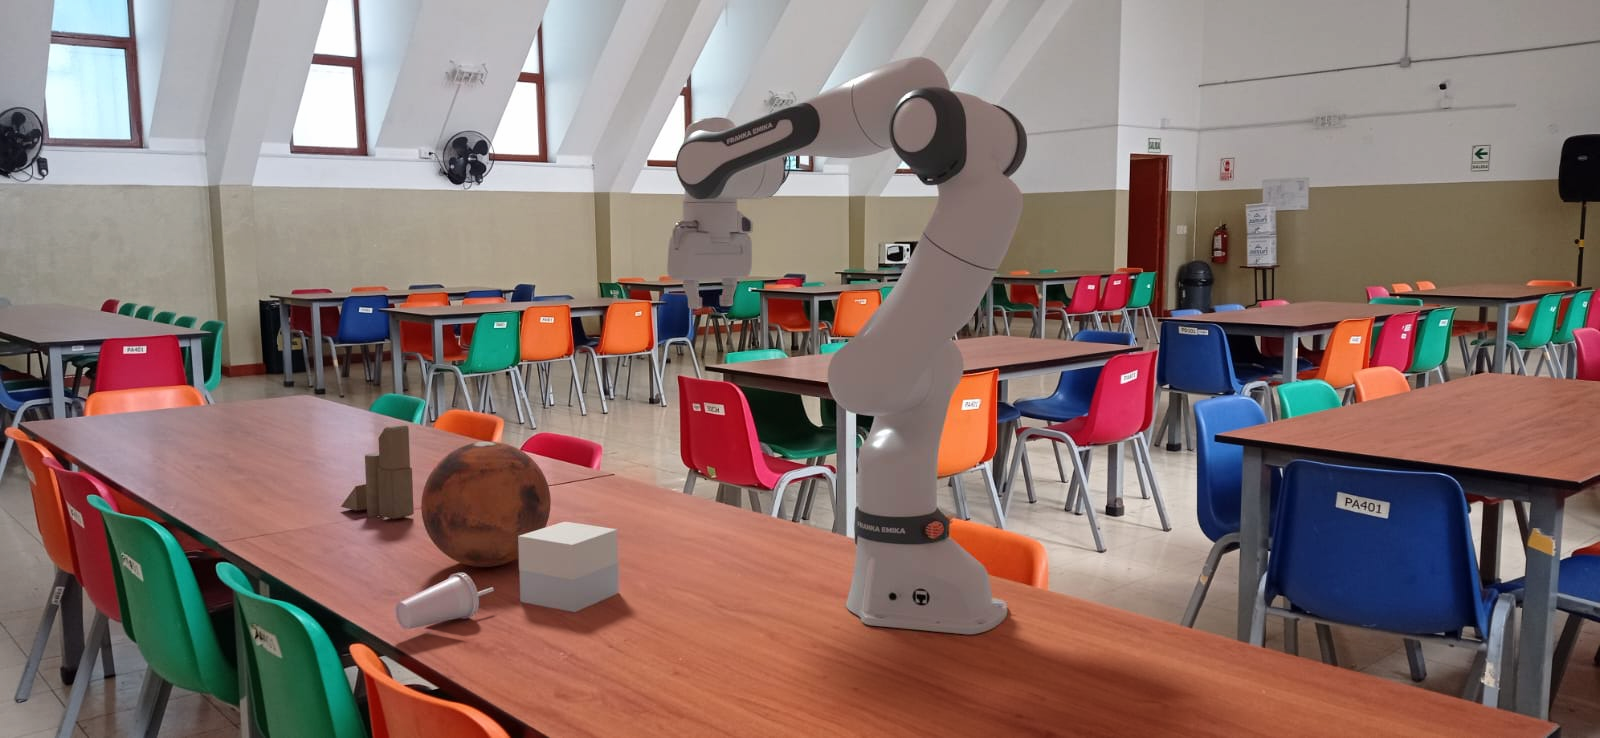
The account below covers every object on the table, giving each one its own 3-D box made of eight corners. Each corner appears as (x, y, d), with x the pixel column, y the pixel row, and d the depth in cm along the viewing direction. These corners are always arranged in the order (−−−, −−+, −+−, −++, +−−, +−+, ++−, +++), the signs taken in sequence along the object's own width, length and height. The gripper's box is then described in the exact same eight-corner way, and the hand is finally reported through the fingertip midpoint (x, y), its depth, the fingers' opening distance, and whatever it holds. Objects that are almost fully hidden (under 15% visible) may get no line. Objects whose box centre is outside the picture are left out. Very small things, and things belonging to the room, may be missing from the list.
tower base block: (618, 595, 168) (618, 562, 168) (574, 614, 159) (573, 579, 159) (566, 585, 173) (565, 553, 172) (520, 603, 164) (519, 569, 164)
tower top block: (617, 562, 167) (617, 529, 167) (572, 579, 159) (572, 544, 158) (565, 553, 172) (564, 521, 172) (519, 570, 163) (518, 536, 163)
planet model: (462, 545, 195) (458, 430, 193) (571, 551, 191) (568, 434, 189) (398, 578, 176) (393, 451, 173) (518, 586, 172) (514, 455, 169)
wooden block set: (419, 518, 215) (415, 424, 213) (393, 524, 211) (389, 428, 209) (366, 507, 225) (362, 417, 223) (340, 512, 220) (336, 420, 218)
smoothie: (421, 637, 147) (510, 605, 158) (409, 589, 148) (498, 560, 158) (396, 641, 152) (484, 609, 162) (384, 594, 152) (473, 565, 162)
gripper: (691, 220, 173) (692, 310, 174) (758, 222, 191) (758, 304, 192) (656, 220, 176) (658, 309, 177) (726, 223, 194) (726, 304, 195)
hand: (711, 307), depth 185 cm, fingers open, 8 cm apart
